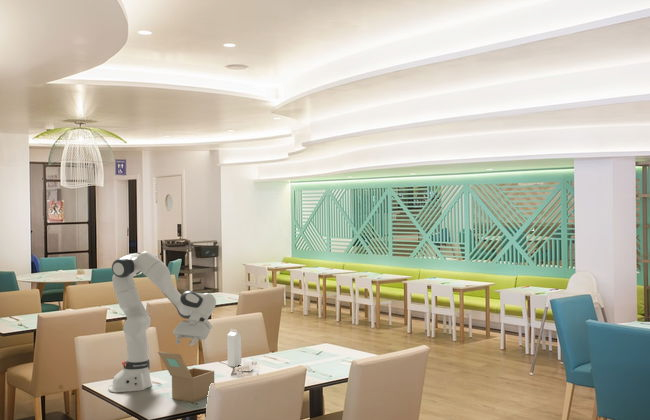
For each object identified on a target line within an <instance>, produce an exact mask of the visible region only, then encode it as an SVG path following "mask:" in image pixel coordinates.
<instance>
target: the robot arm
mask: <svg viewBox="0 0 650 420" xmlns="http://www.w3.org/2000/svg"><path fill="white" fill-rule="evenodd" d="M111 271H112V273H113V275H112V278H111V279H112V286H113V291H114V293H115V298H116V299H117V302H118V306H119V308H120V309H121V311H122V312H123V313H124V315H125V316H126V320H125V321H124V324H123V326H122V327H123V329H122V330H123V333H124V336H125V341H126V352H127V353H126V355H127V356H126V357H127V360H126V361H125V360H122V361H121V364H122V365H123V368H122V369H121V370H120V371H119V372H117V373H116V374H115V375H114V377H113V380H112V384H110V385H109V386H108V388H107V389H108V391H109V392H111V393H126V392H136V391H137V392H140V391H144V390H146V389H147V388H148V389H149V388H151V387H152V386H153V383H152V380H151V375H150V368H151V367H150V366H151V364H150V363H151V362H150V361H151V360H150V359H149V358H150V357H149V355H150V354H149V343H148V340H147V333H146V332H147V330H148V329H150V326H151V322H152V319H151V317H150V315H149V314H148V312H147V310H146V308H145V306H144V305H143V302H142V301H141V297H140V295H139V292H138V289H137V286H136V284H135V281H134V277H135V276H138V275H139V274H140V273H142V274H143V275H144V276H145V277H146V278H147V279H149V280H150V281H151V282H152V283H153V285H155V286H156V287H157V288H158V289H159V290H160V291H161V293H162V294H163V295H164V296H165V298H166V299H168V300H169V301H170V302H171V304H173V306H174V307H175V309H176V311H177V313H178V315H179V316H180V317H181V318H182V319H184V320H182V321H180V322H179V323H178V324H177V325H176V327H175V328H174V329H173V331H172V332H173V335H174V336H175V337H176V339H175V341H174V343H175V345H180V343H181V340H182V338H185V339H191V340H192V341H190V340H189V343H188V344H189V346H190V347H193V346H195V344H196V343H197V342H198V341H199V340H200V341H204V340H206V339H207V338H208V336H209V334H210V332H211V329H212V328H213V325H212V323H211V322H210V321H209V318H210V316H211V315H212V313H213V312H214V310H215V308H216V304H217V300H216V298H215V296H214V295H213V294H211V293H208V292H205V293H201V292H200V293H198V292H196V291H193V290H187V291H186V290H185V291H184V292H183V293H180V292H179V291H178V289H176V287H175V286H174V284H173V281H172V276H171V271H170V269H169V267H167V265H166V264H165V263H164V262H163V261H162V259H160V258H158V257H157V256H156V255H155V254H153V253H152V252H149V251H142V252H134V253H128V254H126V255H124V256H122V257H119V258H117V259H116V260H114V261H113V263H112V265H111ZM186 319H187V320H186Z"/></svg>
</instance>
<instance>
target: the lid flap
mask: <svg viewBox="0 0 650 420" xmlns="http://www.w3.org/2000/svg"><path fill="white" fill-rule="evenodd" d="M157 353H158V355H159V357H160V359H161V360H162V363H163V364H164V366H165V368H166V370H167V372H168V373H169V375H170V376H171V377H172V376H176V377H182V378H188V379H193V377H192V376H191V374H190V372H189V368H188V367H187V364H186V362H185V361H184V359H183V357H182V355H181V353H173V352H167V351H166V352H165V351H159V350H158V351H157Z"/></svg>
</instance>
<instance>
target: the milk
mask: <svg viewBox="0 0 650 420" xmlns="http://www.w3.org/2000/svg"><path fill="white" fill-rule="evenodd" d="M226 337H227V342H226V343H227V347H226V349H227V367H230V368H231V367H232V368H236V367H235V366H237V367H239V366H238V365H240V364H242V334H241V333H240V332H238V329H234V328H230V330H229V332H228V334H226Z"/></svg>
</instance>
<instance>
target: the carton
mask: <svg viewBox="0 0 650 420" xmlns="http://www.w3.org/2000/svg"><path fill="white" fill-rule="evenodd" d="M188 370H189V372H190V374H191V376H192V377H193V379H188V378H182V377H176V376H171V399H172V400H177V401H182V402H183V401H184V402H188V403H196V402H198V401H200V400H203V399H205V398H206V399H207V398H208V397H207V395H208V391H209V386H210V384H211V383H214V384H215V370H212V369H211V370H210V369H203V368H197V367H192V368H188Z"/></svg>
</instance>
